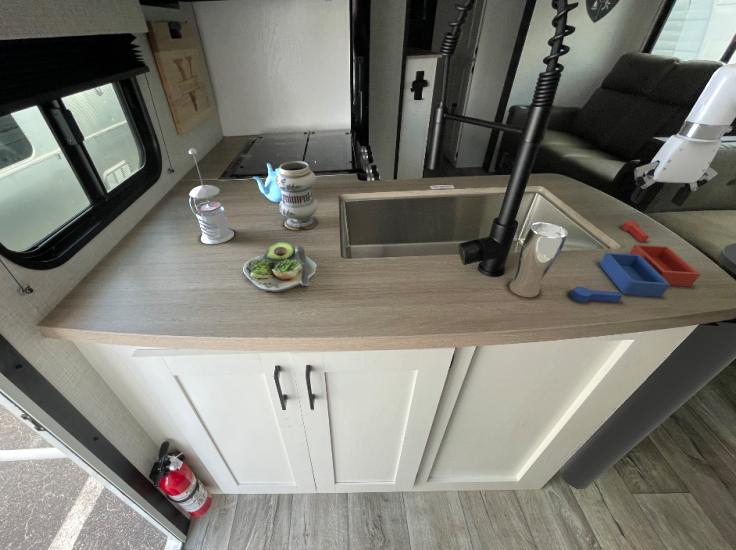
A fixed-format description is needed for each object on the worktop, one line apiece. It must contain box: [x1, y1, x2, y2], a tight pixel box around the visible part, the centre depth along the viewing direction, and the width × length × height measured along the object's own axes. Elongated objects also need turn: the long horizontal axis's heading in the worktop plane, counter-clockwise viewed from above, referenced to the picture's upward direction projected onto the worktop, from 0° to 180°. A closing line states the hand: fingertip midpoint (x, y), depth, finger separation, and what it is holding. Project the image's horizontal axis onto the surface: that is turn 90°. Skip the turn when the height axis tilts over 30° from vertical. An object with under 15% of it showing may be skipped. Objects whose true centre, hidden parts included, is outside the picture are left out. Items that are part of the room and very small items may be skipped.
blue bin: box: [599, 252, 671, 298], centre depth 75 cm, size 12×7×3 cm, turn 170°
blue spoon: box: [569, 285, 623, 303], centre depth 70 cm, size 9×3×2 cm, turn 80°
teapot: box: [252, 162, 282, 203], centre depth 118 cm, size 15×15×10 cm
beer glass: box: [508, 221, 569, 298], centre depth 69 cm, size 7×7×15 cm
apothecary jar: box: [275, 160, 319, 231], centre depth 98 cm, size 12×12×18 cm
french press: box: [188, 147, 235, 245], centre depth 91 cm, size 10×12×25 cm
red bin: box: [628, 244, 702, 287], centre depth 77 cm, size 12×7×3 cm, turn 170°
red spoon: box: [621, 220, 650, 243], centre depth 91 cm, size 9×3×2 cm, turn 170°
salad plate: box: [242, 241, 317, 293], centre depth 80 cm, size 19×18×5 cm
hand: (654, 202), depth 85 cm, fingers open, 9 cm apart
